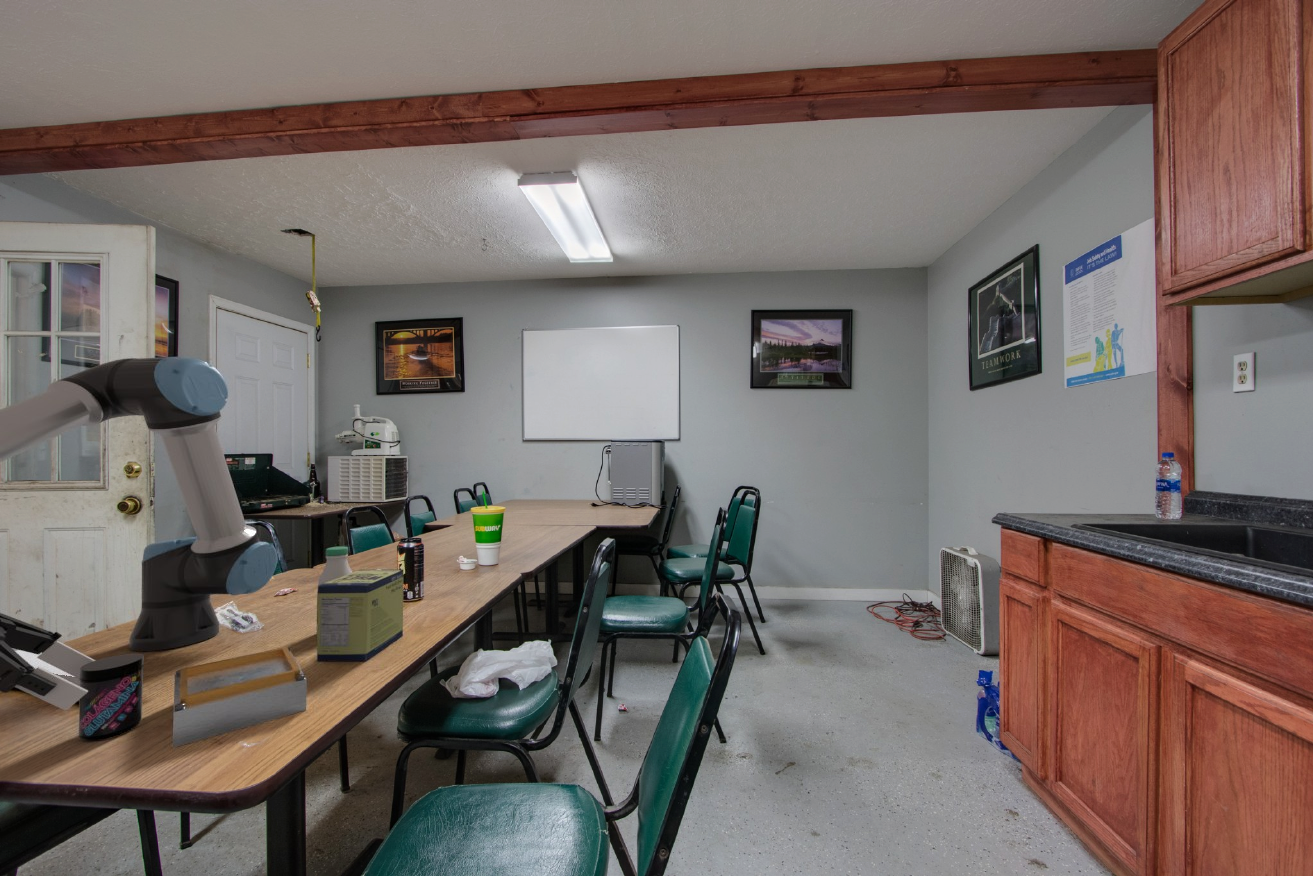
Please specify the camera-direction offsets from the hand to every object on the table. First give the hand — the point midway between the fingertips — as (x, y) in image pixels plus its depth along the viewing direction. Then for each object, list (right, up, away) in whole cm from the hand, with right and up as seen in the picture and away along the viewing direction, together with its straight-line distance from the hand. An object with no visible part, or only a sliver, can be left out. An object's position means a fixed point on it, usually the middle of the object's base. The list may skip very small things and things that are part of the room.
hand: (84, 685), depth 77 cm
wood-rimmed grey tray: (+15, -8, +9) cm, 20 cm away
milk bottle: (+8, -10, +46) cm, 48 cm away
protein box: (+21, -9, +36) cm, 43 cm away
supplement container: (+2, -8, +2) cm, 9 cm away
